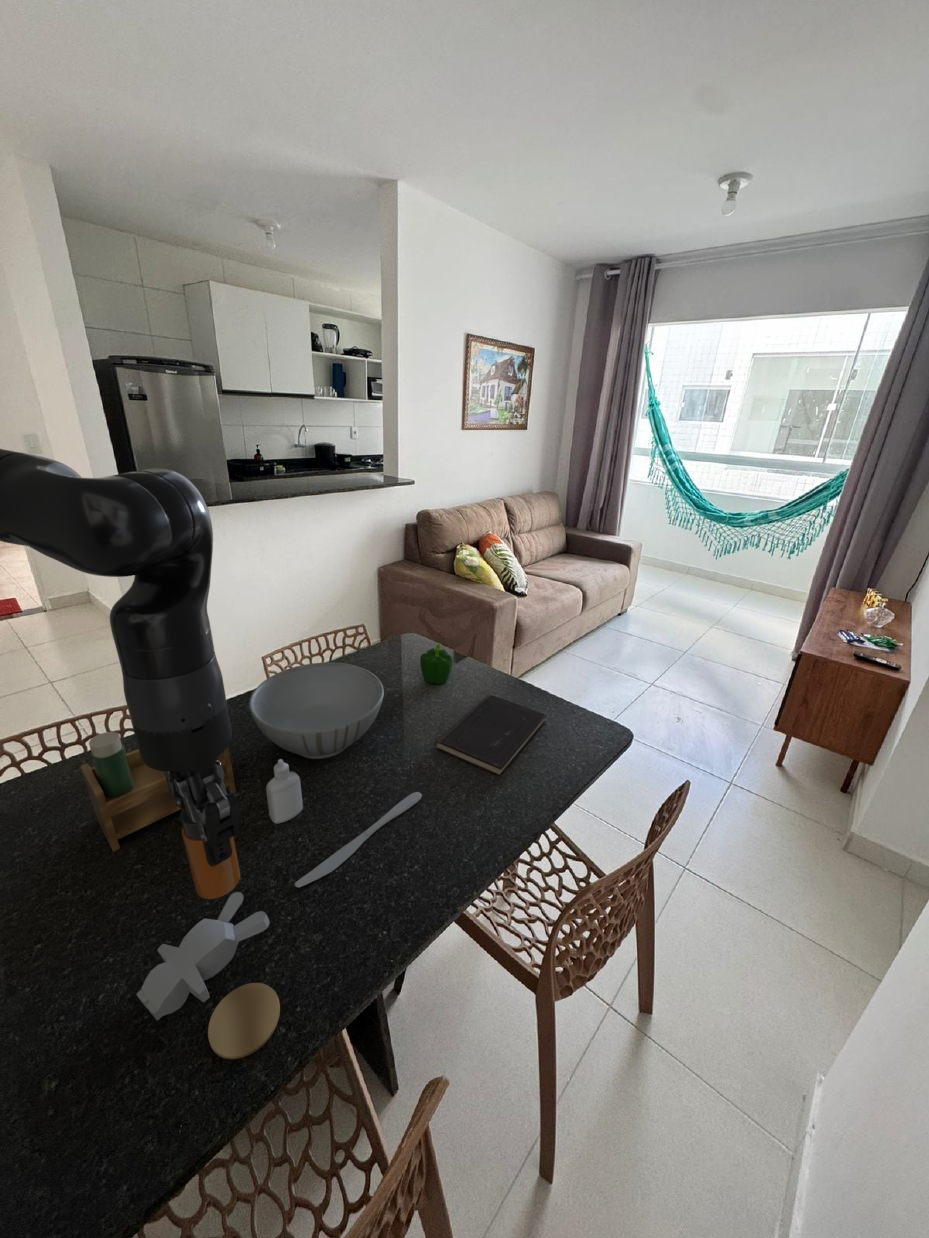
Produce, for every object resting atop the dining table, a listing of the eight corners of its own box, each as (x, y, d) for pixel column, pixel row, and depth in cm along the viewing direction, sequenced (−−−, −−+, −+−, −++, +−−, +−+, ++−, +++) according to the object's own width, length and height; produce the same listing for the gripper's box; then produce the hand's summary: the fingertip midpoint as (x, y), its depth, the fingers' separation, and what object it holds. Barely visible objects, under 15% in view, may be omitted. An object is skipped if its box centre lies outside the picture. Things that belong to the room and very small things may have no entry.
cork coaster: (226, 1077, 57) (225, 1074, 56) (197, 1019, 61) (196, 1017, 61) (292, 1020, 62) (292, 1017, 62) (261, 971, 67) (260, 969, 67)
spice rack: (113, 852, 82) (95, 794, 78) (97, 821, 88) (80, 765, 83) (236, 791, 96) (227, 739, 91) (216, 768, 102) (206, 717, 97)
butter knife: (427, 797, 96) (416, 789, 98) (302, 893, 77) (290, 880, 79) (427, 799, 96) (415, 791, 98) (302, 895, 77) (291, 883, 79)
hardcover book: (545, 722, 121) (546, 714, 120) (500, 777, 103) (501, 768, 102) (486, 701, 129) (487, 693, 128) (434, 748, 110) (435, 740, 109)
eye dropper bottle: (303, 820, 90) (297, 766, 86) (269, 825, 89) (261, 771, 84) (303, 802, 94) (297, 750, 89) (271, 807, 93) (263, 754, 88)
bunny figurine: (119, 973, 62) (228, 876, 73) (133, 994, 65) (237, 898, 75) (162, 1023, 57) (271, 912, 68) (175, 1044, 60) (279, 933, 71)
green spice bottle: (107, 802, 82) (91, 751, 78) (99, 788, 84) (84, 738, 80) (137, 789, 85) (124, 739, 80) (129, 775, 87) (116, 727, 83)
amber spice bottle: (205, 907, 52) (188, 833, 48) (188, 880, 54) (170, 808, 50) (247, 880, 55) (234, 809, 51) (229, 856, 57) (216, 786, 53)
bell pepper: (439, 692, 131) (440, 657, 127) (414, 681, 135) (414, 648, 131) (457, 678, 138) (459, 645, 134) (433, 669, 142) (434, 637, 138)
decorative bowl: (343, 798, 96) (340, 746, 91) (227, 763, 103) (218, 712, 98) (404, 721, 119) (404, 676, 114) (305, 696, 126) (301, 653, 122)
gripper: (106, 688, 47) (145, 826, 54) (162, 761, 38) (200, 915, 45) (191, 661, 52) (217, 791, 59) (258, 721, 44) (279, 865, 50)
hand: (209, 844), depth 52 cm, fingers closed on amber spice bottle, 4 cm apart
